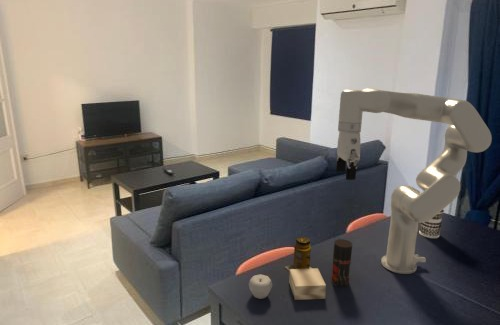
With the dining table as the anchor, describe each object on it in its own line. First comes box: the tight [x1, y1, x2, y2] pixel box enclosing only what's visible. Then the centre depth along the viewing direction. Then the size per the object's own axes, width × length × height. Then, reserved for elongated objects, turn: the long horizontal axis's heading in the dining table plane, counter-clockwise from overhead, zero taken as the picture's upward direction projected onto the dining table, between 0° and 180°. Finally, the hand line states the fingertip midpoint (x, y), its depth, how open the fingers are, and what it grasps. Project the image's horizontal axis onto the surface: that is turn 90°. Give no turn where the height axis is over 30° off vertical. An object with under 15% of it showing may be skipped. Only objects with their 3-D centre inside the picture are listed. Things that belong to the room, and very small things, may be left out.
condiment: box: [284, 236, 312, 272], centre depth 131 cm, size 7×8×12 cm
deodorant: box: [331, 238, 353, 288], centre depth 123 cm, size 6×6×15 cm
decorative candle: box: [418, 209, 445, 239], centre depth 159 cm, size 9×9×25 cm
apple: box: [248, 273, 273, 300], centre depth 116 cm, size 8×8×7 cm
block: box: [288, 267, 327, 301], centre depth 120 cm, size 10×10×5 cm
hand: (345, 175), depth 124 cm, fingers open, 9 cm apart
